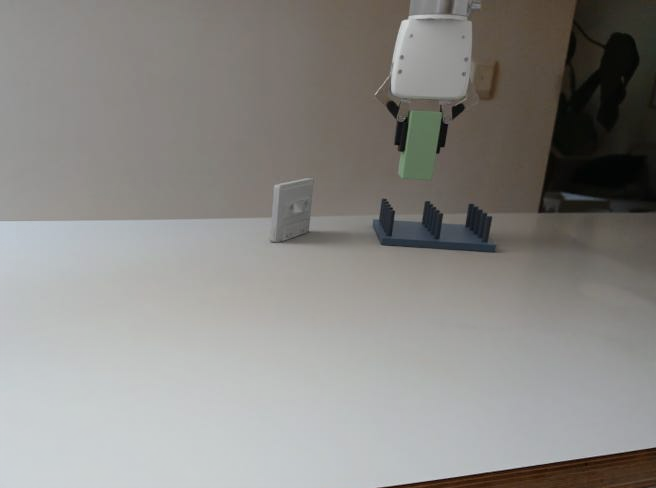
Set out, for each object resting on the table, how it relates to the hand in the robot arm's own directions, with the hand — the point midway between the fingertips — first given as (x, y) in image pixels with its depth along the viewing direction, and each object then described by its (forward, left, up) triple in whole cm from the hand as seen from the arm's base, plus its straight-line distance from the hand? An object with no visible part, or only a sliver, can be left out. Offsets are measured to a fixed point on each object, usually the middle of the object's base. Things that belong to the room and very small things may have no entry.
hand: (418, 150), depth 105 cm
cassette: (+17, +6, -12) cm, 22 cm away
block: (0, 0, -4) cm, 4 cm away
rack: (-3, 0, -12) cm, 13 cm away
